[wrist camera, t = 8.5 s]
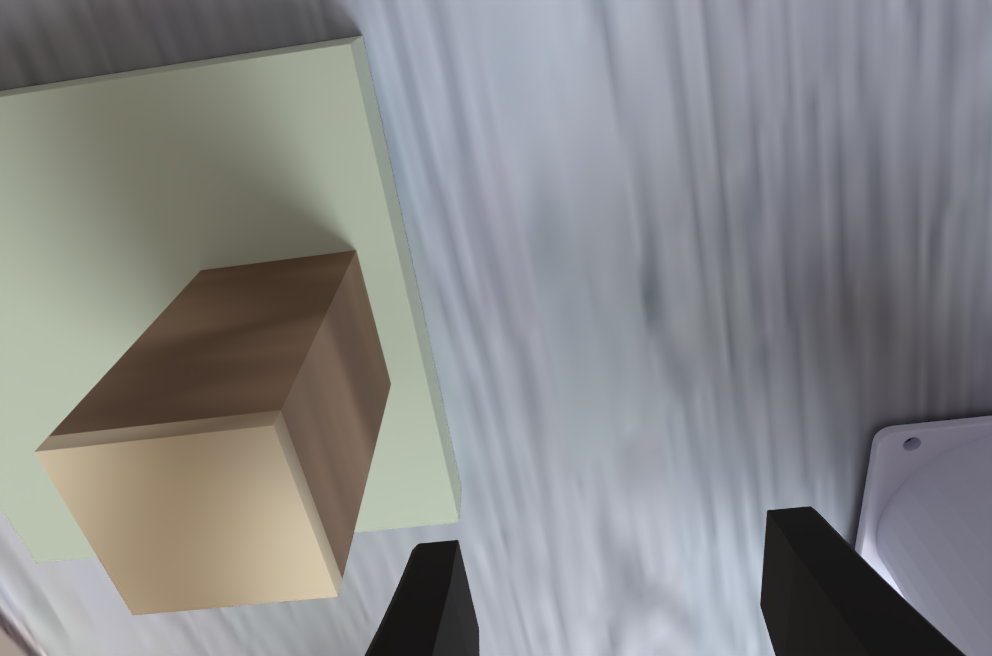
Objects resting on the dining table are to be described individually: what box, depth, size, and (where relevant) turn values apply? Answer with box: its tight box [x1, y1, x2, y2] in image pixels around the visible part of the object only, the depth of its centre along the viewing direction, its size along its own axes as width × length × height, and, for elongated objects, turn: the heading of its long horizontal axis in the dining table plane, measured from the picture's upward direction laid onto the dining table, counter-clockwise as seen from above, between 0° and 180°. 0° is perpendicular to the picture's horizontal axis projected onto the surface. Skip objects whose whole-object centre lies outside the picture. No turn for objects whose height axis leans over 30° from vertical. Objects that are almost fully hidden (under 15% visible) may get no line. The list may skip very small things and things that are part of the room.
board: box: [0, 35, 462, 563], centre depth 19 cm, size 14×14×2 cm
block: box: [34, 250, 391, 615], centre depth 15 cm, size 4×4×7 cm
